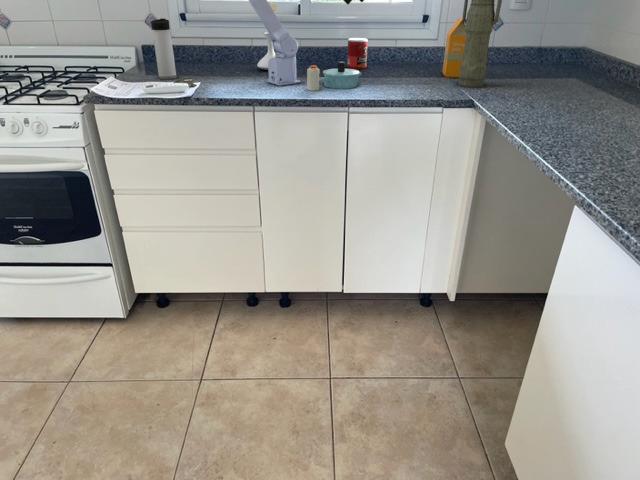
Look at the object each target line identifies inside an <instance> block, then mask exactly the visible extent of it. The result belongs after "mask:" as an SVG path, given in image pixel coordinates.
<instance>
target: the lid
mask: <svg viewBox="0 0 640 480" xmlns="http://www.w3.org/2000/svg"><path fill="white" fill-rule="evenodd" d="M359 73H360V71H359V70H358V69H350V68H346V62H345V61H337V68H329V69H325V70H323V71H322V74H323V75H324V74H325V75H328V76H336V77H348V76H355V75H358V74H359Z"/></svg>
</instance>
